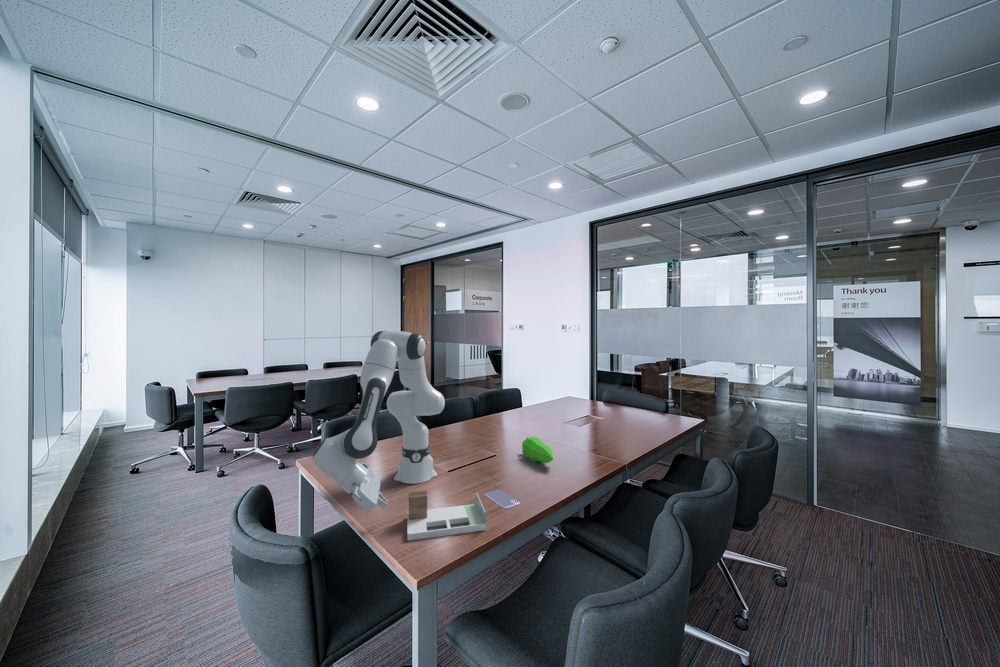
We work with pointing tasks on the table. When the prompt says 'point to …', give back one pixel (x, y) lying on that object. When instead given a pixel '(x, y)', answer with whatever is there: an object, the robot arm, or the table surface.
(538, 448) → the green faceted blob
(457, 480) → the table surface
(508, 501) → the mobile phone
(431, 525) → the track
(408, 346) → the robot arm
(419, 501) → the walnut block
